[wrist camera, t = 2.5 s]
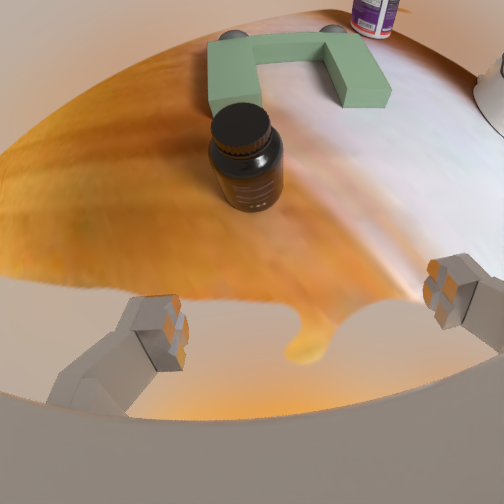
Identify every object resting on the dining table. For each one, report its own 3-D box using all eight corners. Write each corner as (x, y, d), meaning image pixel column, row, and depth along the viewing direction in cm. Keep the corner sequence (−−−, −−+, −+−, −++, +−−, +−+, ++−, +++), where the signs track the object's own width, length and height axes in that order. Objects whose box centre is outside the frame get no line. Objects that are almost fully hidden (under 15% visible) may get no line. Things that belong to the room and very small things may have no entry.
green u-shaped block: (352, 47, 39) (357, 25, 34) (384, 108, 35) (394, 84, 30) (212, 56, 40) (206, 34, 35) (214, 120, 36) (206, 95, 31)
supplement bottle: (218, 170, 34) (193, 103, 23) (274, 156, 34) (270, 85, 22) (229, 221, 32) (204, 166, 21) (290, 207, 32) (295, 145, 21)
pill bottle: (381, 23, 41) (393, -31, 27) (395, 43, 39) (412, -15, 25) (344, 18, 41) (352, -39, 27) (356, 38, 39) (367, -25, 25)
